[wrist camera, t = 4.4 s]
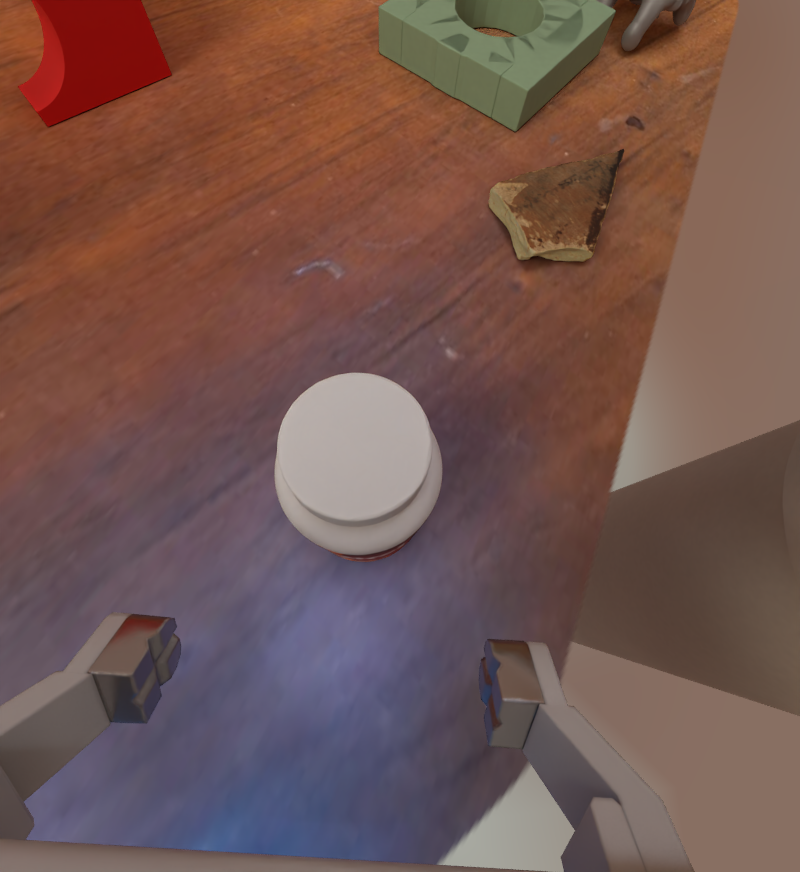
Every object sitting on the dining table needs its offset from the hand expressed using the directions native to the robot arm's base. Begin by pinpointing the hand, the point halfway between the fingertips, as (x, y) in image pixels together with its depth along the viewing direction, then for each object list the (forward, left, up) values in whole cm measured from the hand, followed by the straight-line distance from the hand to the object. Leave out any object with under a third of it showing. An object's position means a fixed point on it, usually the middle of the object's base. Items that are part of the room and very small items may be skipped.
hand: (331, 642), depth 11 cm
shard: (+7, -29, -11) cm, 32 cm away
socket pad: (+20, -40, -11) cm, 46 cm away
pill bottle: (+3, -4, -11) cm, 12 cm away
